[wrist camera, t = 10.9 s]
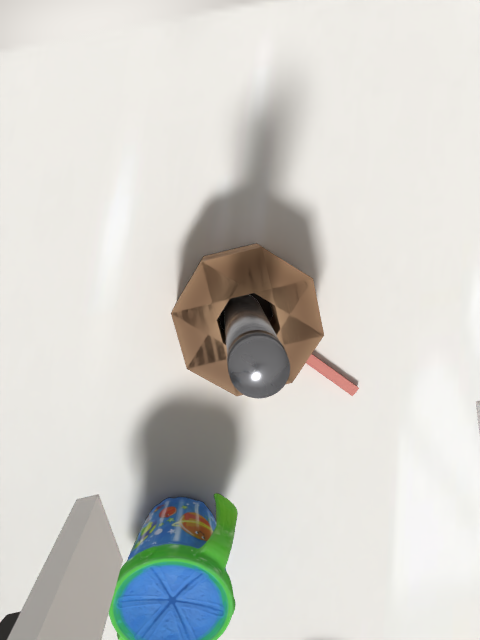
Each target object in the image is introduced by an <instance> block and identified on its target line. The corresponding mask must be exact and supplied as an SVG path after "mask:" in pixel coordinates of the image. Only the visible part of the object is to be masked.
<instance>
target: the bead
mask: <svg viewBox="0 0 480 640" xmlns="http://www.w3.org/2000/svg"><path fill="white" fill-rule="evenodd" d="M252 293H255V294H257V295H258V296H260V297H262V298H263V299H265V300H267V301H268V302H270V306H271V310H272V315H273V316H272V318H271V319H270V321H269V322H270V324H271V326H272V328H273V330H274V332H275V334H276V336H277V337H278V339H279V340H280V342H281V343H282V345H283V347H284V349H285V351H286V353H287V356H288V358H289V362H290V374H289V378H288V380H287V382H286V384H289V383H292V382H293V381H294V379H295V378H296V376H297V375H298V373H299V372H300V370H301V369H302V367H303V366H304V364H305V363H306V361H307V360H308V358H309V357H310V355H311V354H312V352H313V351H314V349H315V348H316V347H317V345H318V344H319V342H320V341H321V339H322V338H323V336H324V332H323V327H322V322H321V317H320V312H319V307H318V302H317V297H316V292H315V287H314V282H313V278H311V277H310V276H308V275H306V274H305V273H303V272H302V271H300V270H298V269H297V268H295V267H293V266H292V265H290V264H289V263H287V262H285V261H284V260H282V259H281V258H279V257H277V256H276V255H274V254H273V253H271V252H269V251H268V250H266V249H265V248H263V247H262V246H260V245H258V244H257V243H255V244H251V245H247V246H243V247H239V248H235V249H231V250H227V251H223V252H219V253H215V254H211V255H207V256H203V258H202V260H201V262H200V263H199V265H198V267H197V268H196V270H195V272H194V273H193V275H192V277H191V278H190V280H189V282H188V284H187V285H186V287H185V289H184V290H183V292H182V294H181V295H180V297H179V299H178V300H177V302H176V304H175V306H174V308H173V310H172V312H171V315H172V318H173V322H174V325H175V329H176V332H177V336H178V339H179V343H180V346H181V350H182V353H183V357H184V360H185V364H186V367H187V369H188V370H190V371H192V372H194V373H195V374H197V375H199V376H201V377H203V378H205V379H206V380H208V381H210V382H212V383H214V384H215V385H217V386H219V387H221V388H223V389H225V390H226V391H228V392H230V393H232V394H234V395H235V396H240V395H244V394H242V393H240V392H239V391H238V390H237V389H236V388H235V387H234V385H233V384H232V382H231V379H230V376H229V372H228V366H227V345H226V334H225V330H224V329H222V326H221V322H220V318H219V316H220V314H221V312H222V311H223V309H224V307H225V306H226V304H227V303H228V301H229V299H231V298H236V297H240V296H244V295H248V294H252Z"/></svg>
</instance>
